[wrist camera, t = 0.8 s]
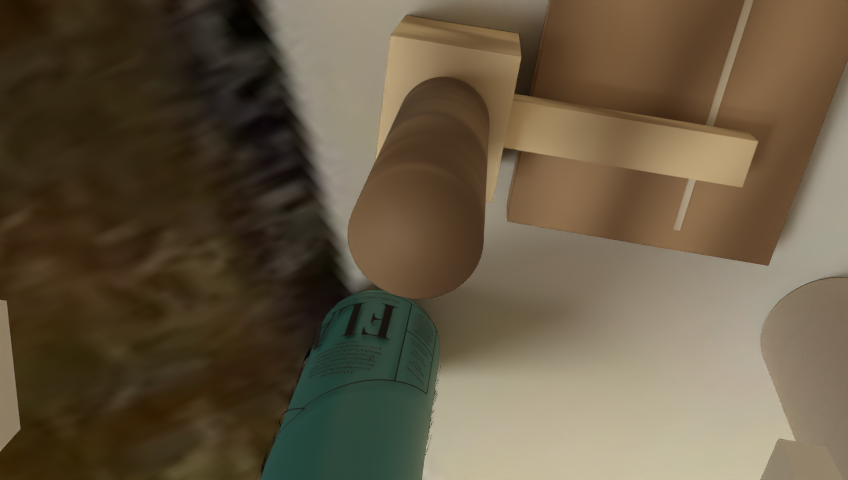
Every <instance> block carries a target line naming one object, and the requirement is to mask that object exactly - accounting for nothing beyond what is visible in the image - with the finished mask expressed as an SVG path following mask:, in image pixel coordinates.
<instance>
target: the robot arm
mask: <svg viewBox="0 0 848 480" xmlns="http://www.w3.org/2000/svg"><path fill="white" fill-rule="evenodd" d="M19 430H20V422H19V412H18V403H17V394H16V385H15V375H14V366H13V357H12V347H11V338H10V329H9V319H8V310H7V301H3V300H0V451H1V450H2V449H3V448H4V446H5V445H6V444H7V443H8V442H9V441H10V440H11V439H12V437H13V436H14V435H15V434H16V433H17V432H18V431H19ZM761 480H844V479H843V478H842V476H841V474H840V472H839V471H838V469H837V467H836V465H835V464H834V462H833V460H832V458H831V457H830V455H829V453H828V451H827V450H826V448H825V447H823V446H817V445H812V444H806V443H800V442H795V441H789V440H784V439H778V441H777V443H776V446H775V448H774V450H773V452H772V455H771V457H770V459H769V462H768V464H767V466H766V468H765V471H764V473H763V475H762V477H761Z"/></svg>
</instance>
